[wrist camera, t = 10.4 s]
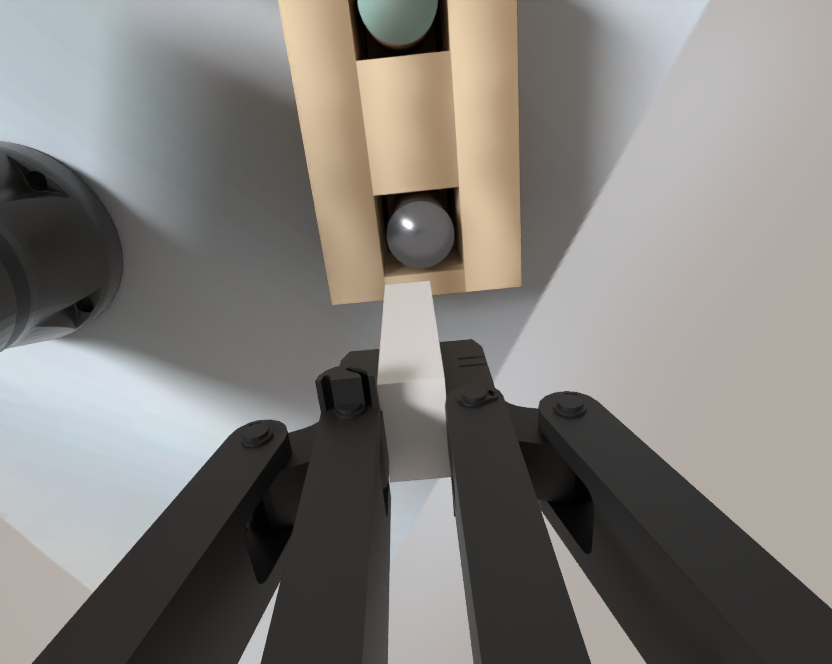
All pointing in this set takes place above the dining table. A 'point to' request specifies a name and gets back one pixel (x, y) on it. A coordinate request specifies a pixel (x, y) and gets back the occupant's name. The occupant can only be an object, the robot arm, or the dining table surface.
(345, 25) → the oak block
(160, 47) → the dining table surface
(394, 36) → the walnut peg
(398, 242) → the metal pin
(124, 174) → the dining table surface
